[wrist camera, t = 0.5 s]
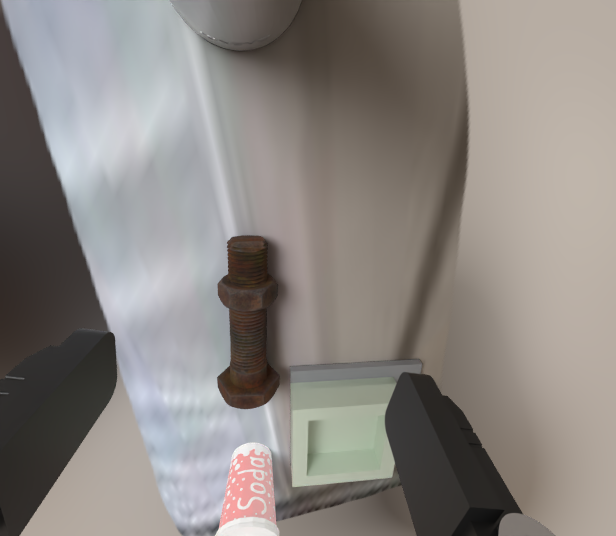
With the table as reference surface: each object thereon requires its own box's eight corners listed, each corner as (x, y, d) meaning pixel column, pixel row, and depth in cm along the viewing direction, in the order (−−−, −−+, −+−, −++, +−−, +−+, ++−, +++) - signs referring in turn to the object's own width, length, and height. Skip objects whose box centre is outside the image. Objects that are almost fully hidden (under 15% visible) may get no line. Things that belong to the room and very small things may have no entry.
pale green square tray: (290, 366, 33) (292, 397, 29) (419, 359, 35) (438, 388, 31) (290, 459, 39) (292, 496, 35) (401, 449, 40) (415, 483, 36)
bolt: (258, 227, 29) (258, 364, 34) (203, 232, 26) (212, 381, 31) (294, 244, 25) (287, 397, 30) (232, 252, 22) (237, 421, 27)
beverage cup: (288, 448, 38) (297, 610, 25) (260, 479, 39) (255, 646, 27) (243, 430, 36) (228, 596, 23) (215, 464, 37) (187, 636, 25)
